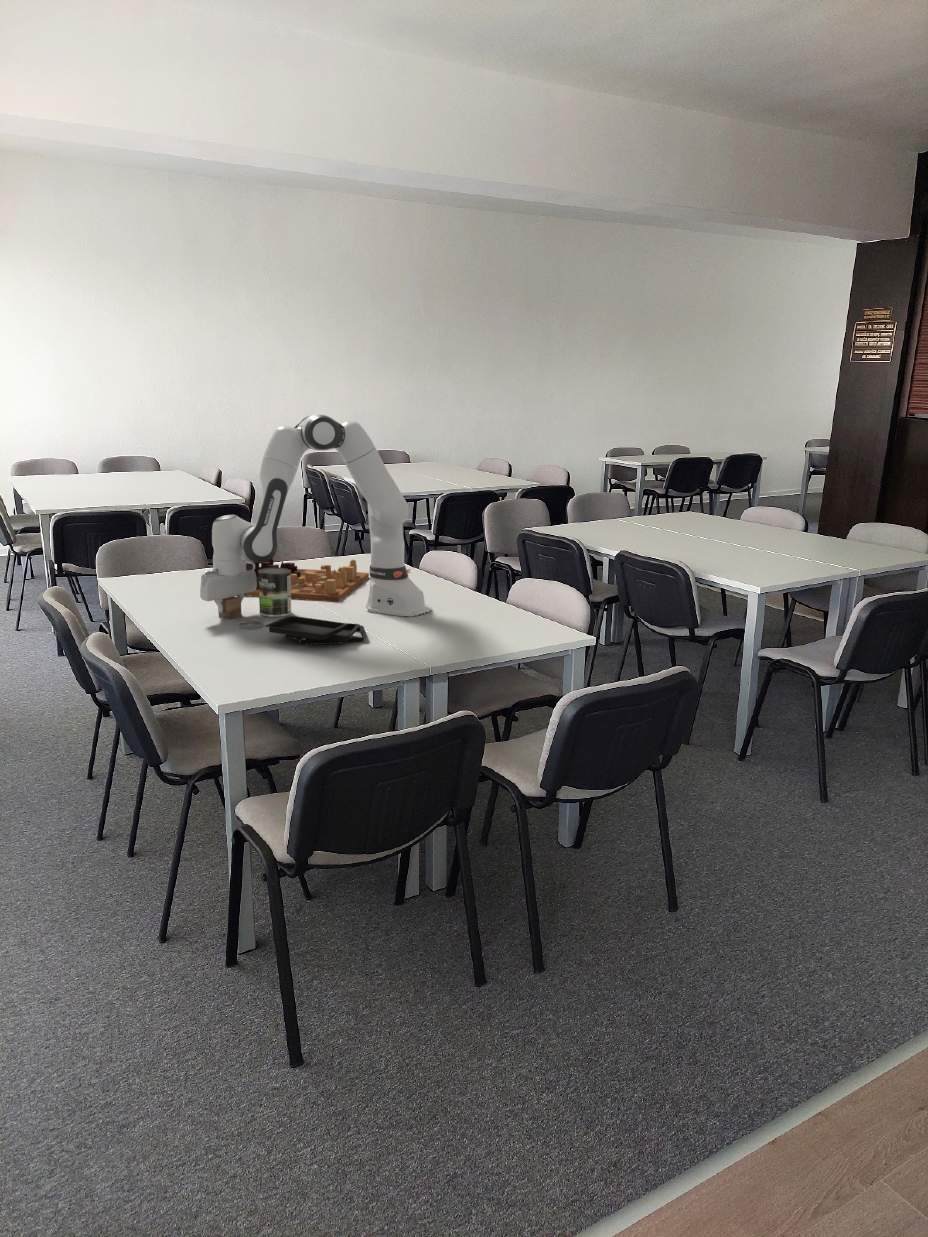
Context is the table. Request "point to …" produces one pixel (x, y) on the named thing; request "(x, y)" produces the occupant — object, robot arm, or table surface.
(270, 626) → the tray
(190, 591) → the table surface
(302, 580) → the gameboard
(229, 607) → the walnut block
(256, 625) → the slate coaster
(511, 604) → the table surface
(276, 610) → the coffee can
